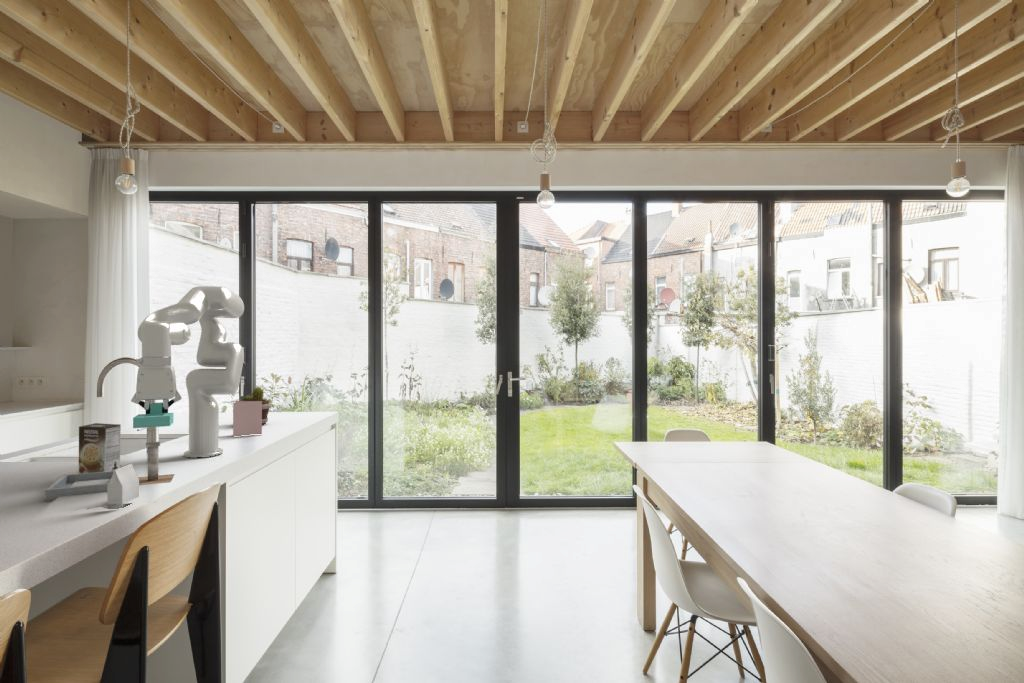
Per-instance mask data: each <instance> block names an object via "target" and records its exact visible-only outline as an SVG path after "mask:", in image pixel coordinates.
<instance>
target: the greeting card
mask: <svg viewBox="0 0 1024 683" xmlns="http://www.w3.org/2000/svg"><path fill="white" fill-rule="evenodd" d="M232 404H233V405H232V408H233V410H232V413H233V414H232V437H233V436H241V435H250V434H262V435H263V425H262V401H241V400H235V402H233V403H232Z"/></svg>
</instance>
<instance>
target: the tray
mask: <svg viewBox="0 0 1024 683" xmlns="http://www.w3.org/2000/svg"><path fill="white" fill-rule="evenodd" d="M113 472H114V471H106V472H94V473H82V474H79V473H72V474H64V475H62V476H61V477H59V478H58V479H57V480H56V481H55V482H54V483H52V484H51V485H50V486H48V488H46V489H45V493H44V494H45V495H44V498H45V502H50V501H49V500H54V501H56V500H57V499H58V498H59V497H61V496H71V495H72V496H73V495H82V494H92V493H93V494H94V493H101V492H103V493H104V492H107V486H108V484H109V482H110V480H111V478H112V475H113ZM102 479H109V480H108V481H107V482H106V483H102V484H101V483H99V484H90V485H89V484H88V485H77V486H73V484H74V483H76V482H77V481H88V480H89V481H91V480H102Z"/></svg>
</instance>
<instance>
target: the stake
mask: <svg viewBox="0 0 1024 683" xmlns="http://www.w3.org/2000/svg"><path fill="white" fill-rule="evenodd" d="M160 446H161V441H159V440H158V441H146V443H145V447H146V448H147V476H138V478H139V486H144V485H145V486H146V485H157V484H168V483H172V481H173V478H174V477H175V474H173V473H172V474H170V473H169V474H161V475H159V447H160Z"/></svg>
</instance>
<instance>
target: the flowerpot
mask: <svg viewBox="0 0 1024 683" xmlns="http://www.w3.org/2000/svg"><path fill="white" fill-rule="evenodd" d="M251 390H252V391H251V393H249V394H248V393H247V395H245V396H244V397H243V399H242V400H240V401H262V426H265V425H267V422H268V421H269V418H268V414H269V411H270V409H271V408H272V403H271V402H270V400H267V399H264V395H265V391H264V389H263V388H262V386H261V385H260V384H258V385H256V387H255V388H254V387H253V388H252V389H251ZM264 424H265V425H264Z"/></svg>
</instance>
